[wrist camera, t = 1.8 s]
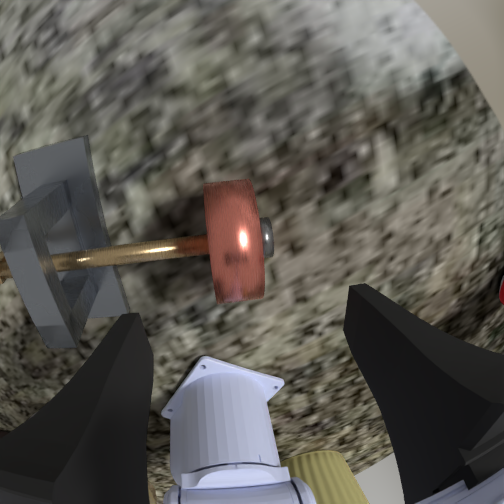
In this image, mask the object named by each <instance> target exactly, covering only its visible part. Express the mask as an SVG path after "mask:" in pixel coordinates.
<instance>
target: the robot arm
mask: <svg viewBox="0 0 504 504" xmlns="http://www.w3.org/2000/svg"><path fill="white" fill-rule="evenodd" d="M343 331H344V334H345V336H346V339H347V342H348V345H349V348H350V350H351V353H352V355H353V357H354V359H355V361H356V363H357V365H358V367H359V369H360V371H361V372H362V374H363V376H364V378H365V380H366V382H367V384H368V386H369V388H370V390H371V392H372V394H373V396H374V398H375V400H376V402H377V404H378V406H379V408H380V411H381V414H382V416H383V419H384V422H385V425H386V428H387V431H388V434H389V437H390V440H391V443H392V447H393V450H394V453H395V457H396V461H397V465H398V469H399V473H400V478H401V483H402V489H403V494H404V501H405V504H504V355H503V354H499V353H496V352H492V351H489V350H486V349H483V348H480V347H478V346H475V345H472V344H470V343H467V342H465V341H463V340H460V339H458V338H456V337H454V336H452V335H450V334H448V333H445V332H443V331H441V330H440V329H438V328H436V327H434V326H432V325H430V324H429V323H427V322H425V321H424V320H422V319H420V318H418V317H417V316H415V315H414V314H412V313H410V312H409V311H407V310H406V309H404V308H403V307H401V306H400V305H398V304H397V303H395V302H393V301H392V300H390V299H389V298H387V297H386V296H384V295H383V294H381V293H380V292H378V291H377V290H375V289H374V288H372V287H371V286H369V285H367V284H365V283H364V284H358V285H351V286H349V292H348V300H347V307H346V314H345V321H344V328H343ZM201 365H205V366H201ZM283 385H284V380H283V379H281V378H278V377H274V376H271V375H267V374H263V373H260V372H256V371H253V370H250V369H246V368H243V367H240V366H236V365H233V364H230V363H227V362H224V361H220V360H217V359H214V358H211V357H208V356H203V357H201V358H200V359H199V360H198V362H197V363H196V364H195V366H194V367H193V369H192V370H191V371H190V373H189V374H188V376H187V377H186V378H185V380H184V381H183V382H182V384H181V385H180V387H179V388H178V389H177V391H176V392H175V394H174V395H173V396H172V398H171V399H170V400H169V402H168V403H167V405H166V406H165V407H164V409H163V410H162V412H161V415H162V416H163V417H165V418H168V419H171V422H170V469H171V474H172V476H173V478H174V480H175V482H176V483H177V485H172V486H171V488H170V489H169V490H168V491H167V492H166V493H165V495H164V501H163V504H316V500H315V497H314V495H313V493H312V490H311V489H310V487H309V486H308V485H307V484H306V483H305V482H303V481H302V480H301V479H300V478H298V477H292V478H290V475H289V471H288V467H281V465H280V461H279V456H278V452H277V447H276V443H275V438H274V434H273V429H272V425H271V420H270V416H269V411H268V407H267V401H268V400H269V399H270V398H271V397H272V396H273V395H274V394H275V393H276V392H277V391H278V390H279V389H280V388H281V387H282V386H283ZM152 387H153V352H152V350H151V347H150V344H149V341H148V338H147V336H146V333H145V330H144V327H143V324H142V321H141V318H140V315H139V313H127V314H122V315H121V316H120V317H119V319H118V320H117V321H116V323H115V324H114V325H113V327H112V328H111V329H110V331H109V332H108V333H107V335H106V336H105V337H104V339H103V340H102V342H101V343H100V344H99V345H98V347H97V348H96V349H95V351H94V352H93V353H92V355H91V356H90V357H89V358H88V360H87V361H86V362H85V363H84V365H83V366H82V367H81V368H80V369H79V371H78V372H77V373H76V374H75V375H74V377H73V378H72V379H71V380H70V381H69V382H68V383H67V384H66V385H65V386H64V387H63V388H62V389H61V390H60V392H59V393H58V394H57V395H56V396H55V397H53V398H52V399H51V400H50V401H49V402H48V403H47V404H46V405H45V406H43V407H42V408H41V409H40V410H39V411H38V412H37V413H35V414H34V415H33V416H32V417H31V418H29V419H28V420H27V421H25V422H24V423H23V424H21V425H20V426H19V427H17V428H16V429H14V430H13V431H11V432H10V433H8V434H7V435H5V436H4V437H2V438H0V504H150V500H149V491H148V478H147V458H146V440H147V428H148V419H149V411H150V403H151V395H152Z"/></svg>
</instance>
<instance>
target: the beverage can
mask: <svg viewBox="0 0 504 504" xmlns="http://www.w3.org/2000/svg"><path fill="white" fill-rule="evenodd" d="M499 299H500V301H501V303H502V304H503V305H504V275H503V278H502V280H501V284H500V290H499Z"/></svg>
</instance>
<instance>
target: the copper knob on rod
mask: <svg viewBox="0 0 504 504" xmlns="http://www.w3.org/2000/svg"><path fill="white" fill-rule="evenodd" d="M203 191H204V206H205V218H206V228H207V234H204V235H195V236H187V237H179V238H171V239H163V240H155V241H147V242H139V243H132V244H124V245H117V246H109V247H102V248H95V249H87V250H80V251H73V252H66V253H59V254H52V255H51V258H52V261H53V264H54V266H55V269H56V272H64V271H72V270H81V269H89V268H97V267H105V266H114V265H122V264H130V263H139V262H147V261H155V260H164V259H172V258H181V257H189V256H197V255H206V254H210V262H211V270H212V277H213V283H214V290H215V295H216V300H217V304H223V303H231V302H239V301H247V300H255V299H262V298H263V297H264V290H265V271H264V258H266V257H273V254H274V240H273V232H272V226H271V222H270V219H269V218H268V217H265V218H259V214H258V208H257V203H256V198H255V193H254V190H253V186H252V183H251V181H250V179H242V180H232V181H223V182H213V183H205V184H203ZM7 278H13V276H12V274H11V271H10V269H9V266H8V264H7V261H6V259H5V256H4V253H3V251H2V252H0V284H3V283H4V281H5V280H6V279H7Z"/></svg>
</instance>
